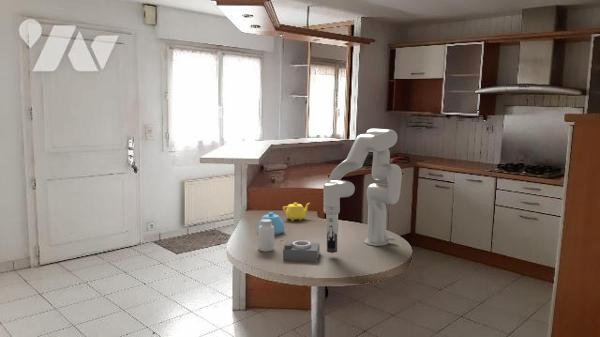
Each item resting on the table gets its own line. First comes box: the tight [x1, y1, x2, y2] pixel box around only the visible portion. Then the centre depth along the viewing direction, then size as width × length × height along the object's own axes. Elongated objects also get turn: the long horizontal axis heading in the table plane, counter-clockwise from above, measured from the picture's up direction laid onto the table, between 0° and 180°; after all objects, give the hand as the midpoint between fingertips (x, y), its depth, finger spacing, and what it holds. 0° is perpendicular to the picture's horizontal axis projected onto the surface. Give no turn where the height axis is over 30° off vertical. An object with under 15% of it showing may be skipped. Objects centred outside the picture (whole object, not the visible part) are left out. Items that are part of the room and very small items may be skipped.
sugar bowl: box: [257, 211, 285, 236], centre depth 263 cm, size 15×15×12 cm
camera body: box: [282, 240, 321, 262], centre depth 222 cm, size 16×12×7 cm
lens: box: [326, 233, 338, 254], centre depth 220 cm, size 5×5×9 cm
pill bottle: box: [257, 219, 275, 252], centre depth 232 cm, size 8×8×15 cm
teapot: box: [282, 202, 311, 222], centre depth 294 cm, size 18×11×11 cm, turn 105°
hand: (332, 246), depth 221 cm, fingers closed on lens, 5 cm apart
